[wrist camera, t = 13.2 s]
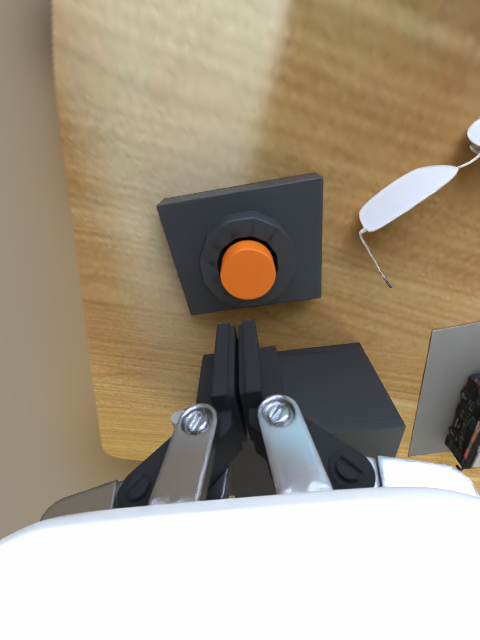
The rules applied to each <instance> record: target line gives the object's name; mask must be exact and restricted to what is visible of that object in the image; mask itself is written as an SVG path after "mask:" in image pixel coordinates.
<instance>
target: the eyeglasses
mask: <svg viewBox="0 0 480 640" xmlns="http://www.w3.org/2000/svg"><path fill="white" fill-rule="evenodd" d="M467 135H468V138H469V140H470V141H471V143H473V144H471V145H470V149H471V150H472V151H473V152H474V153H476V154H478V155H477V156H476V157H475V158H474V159H472V160H471V161H469V162H467V163H465V164H463V165H461V166H458V167H454V166H447V165H435V166H427V167H421V168H417V169H415V170H412V171H410V172H408V173H407V174H405V175H403V176H402V177H400V178H398V179H397V180H395V181H394V182H392V183H391V184H390V185H388V186H387V187H385V188H384V189H383V190H381V191H380V192H379V193H377V194H376V195H375V196H374V197H372V198H371V199H370V200H369V201H368V202H367V203H366V204H365V205H364V206H363V207H362V208H361V210H360V212H359V218H360V221H361V224H362V225H363V227H364V228H363V229H362V230H361V231H359V233H358V236H359V238H360V240H361V242H362V243H363V245H364V247H365V248H366V250H367V252H368V253H369V255H370V256H371V258H372V260H373V261H374V263H375V265H376V266H377V268H378V270H379V271H380V273H381V274H382V272H381V270H380V268H379V266H378V265H377V263H376V261H375V259H374V257H373V256H372V254H371V252H370V250H369V248H368V246H367V245H366V243H365V241H364V239H363V238H362V234H363V233H364V232H365V231H369V232H374V231H376V230H378V229H380V228H382V227H384V226H385V225H387V224H389V223H390V222H392V221H393V220H395V219H396V218H398V217H400V216H401V215H403V214H404V213H406V212H407V211H409V210H410V209H412V208H413V207H414V206H416V205H417V204H419V203H420V202H422V201H423V200H425V199H426V198H428V197H429V196H430V195H432V194H433V193H435V192H436V191H438V190H439V189H440V188H441V187H443V186H444V185H445V184H447V183H448V182H449V181H450V180H451V179H452V178H453V177H454V176H455V175H456V174H457V172H458V169H460V168H462V167H465V166H467V165H469V164H471V163H472V162H474V161H475V160H476V159H478V158H479V157H480V118H479V119H478V120H476V121H475V122H474V123H473V124H472V125H471V126H470V128H469V129H468V131H467ZM382 276H383V279H384V280H385V282H386V283H387V284H388V286H389V287H390V288H392V286H391V285H390V284H389V283H388V281H387V280H386V278H385V277H384V275H383V274H382Z"/></svg>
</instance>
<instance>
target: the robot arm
mask: <svg viewBox="0 0 480 640" xmlns="http://www.w3.org/2000/svg"><path fill="white" fill-rule="evenodd" d="M247 427H248V431H249V436H250V440H251V441H253V442H254V446H255V450H256V453H257V454H258V455H260V456H261V457H262V458H263V459H264V460H266V461H267V465H268V469H269V474H270V478H271V482H272V486H273V490H274V494H275V495H266V496H254V497H243V498H231V499H228V498H229V491H230V485H231V478H232V471H233V461H234V459H235V458H236V457H237V456H238V455H239V451H243V447H242V442H247ZM0 640H480V497H479V495H478V492H477V490H476V488H475V487H474V485H473V483H472V482H471V480H470V479H469V478H467V477H466V476H465V475H464V474H463V473H462V472H460V471H459V470H457V469H455V468H454V467H451V466H448V465H444V464H439V463H431V462H423V461H416V460H408V459H401V458H393V457H385V456H378V455H377V458H371V457H366V456H364V455H363V454H362V453H361V452H359V451H358V450H356V449H354V448H353V447H351V446H350V445H348V444H346V443H345V442H343V441H342V440H340V439H338V438H337V437H335V436H334V435H332V434H330V433H329V432H327V431H326V430H324V429H323V428H321V427H319V426H318V425H316V424H315V423H313V422H311V421H310V420H308V419H307V418H305V417H303V416H302V413H301V411H300V409H299V406H298V405H297V403H296V402H295V401H294V400H293V399H292V398H290V397H288V396H286V395H285V394H284V388H283V383H282V377H281V372H280V367H279V361H278V356H277V351H276V346H271V347H263V348H259V344H258V338H257V331H256V325H255V319H251V320H244V321H242V324H239V325H238V338H237V333H236V328H235V325H230V323H222V324H217V331H216V342H215V352H214V354H209V355H204V356H203V360H202V366H201V373H200V380H199V387H198V394H197V401H196V404H194V405H192V406H190V407H188V408H187V409H185V410H184V411H183V412H182V414H181V415H180V417H179V419H178V421H177V424H176V426H175V429H174V432H173V435H172V437H170V438H169V439H168V440H167V441H166V442H165V443H164V444H163V445H161V446H160V447H159V448H158V449H157V450H156V451H155V452H154V453H152V454H151V455H150V456H149V457H148V458H147V459H146V460H145V461H143V462H142V463H141V464H140V465H139V466H138V467H137V468H136V469H134V470H133V471H132V472H131V473H130V474H129V475H128V476H127V477H126V478H125V479H124V481H121V482H118V480H115V481H112V482H109V483H106V484H103V485H100V486H97V487H94V488H92V489H88V490H85V491H83V492H79V493H76V494H74V495H71V496H68V497H65V498H62V499H60V500H59V501H57V502H55V503H54V504H53V505H52V506H50V507H49V508H48V509H47V511H46V512H45V513H44V515H43V516H42V518H41V520H40V522H37V523H34V524H32V525H30V526H28V527H25V528H23V529H21V530H18V531H16V532H14V533H13V534H11V535H9V536H7V537H5V538H3V539H2V540H0Z"/></svg>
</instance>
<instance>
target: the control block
mask: <svg viewBox="0 0 480 640" xmlns="http://www.w3.org/2000/svg"><path fill="white" fill-rule="evenodd" d="M156 207H157V210H158V213H159V216H160V219H161V222H162V225H163V228H164V232H165V235H166V238H167V241H168V244H169V247H170V250H171V253H172V257H173V260H174V263H175V266H176V269H177V272H178V275H179V278H180V281H181V285H182V288H183V291H184V294H185V297H186V300H187V303H188V306H189V310H190V313H191V315H196V314H204V313H211V312H219V311H226V310H234V309H242V308H249V307H257V306H264V305H272V304H279V303H287V302H295V301H302V300H310V299H317V298H321V265H322V214H323V177H322V176H320V175H319V174H317V173H315V172H314V173H309V174H303V175H297V176H292V177H286V178H280V179H274V180H269V181H263V182H257V183H251V184H246V185H240V186H234V187H229V188H223V189H217V190H211V191H206V192H200V193H194V194H189V195H183V196H177V197H171V198H166V199H163V200H162V201H161V202H160V203H159V204H158V205H157V206H156ZM243 240H253V241H257V242H259V243H261V244H263V245H264V246H265V247H267V249H268V250H269V251H270V253H271V255H272V258H273V261H274V265H275V270H276V277H275V281H274V284H273V286H272V287H271V289H270V290H269V291H268V292H267V293H265V294H264V295H262V296H261V297H258V298H255V299H240V298H237V297H235V296H233V295H231V294H230V293H229V292H228V291H227V290H226V289H225V288H224V286H223V284H222V282H221V277H220V272H221V265H222V259H223V256H224V254H225V252H226V250H227V249H228V248H229V247H230V246H231V245H233V244H235V243H236V242H239V241H243Z"/></svg>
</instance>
